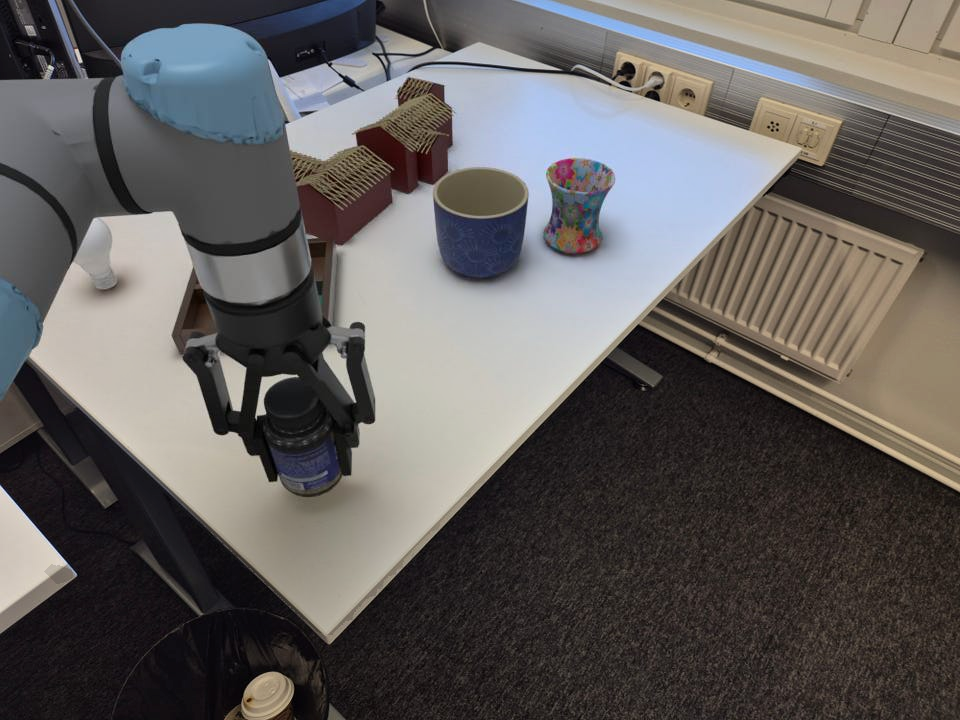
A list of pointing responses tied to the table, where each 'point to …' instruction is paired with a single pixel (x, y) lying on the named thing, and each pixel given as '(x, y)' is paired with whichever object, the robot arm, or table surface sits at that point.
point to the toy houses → (376, 164)
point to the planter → (480, 220)
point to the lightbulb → (97, 254)
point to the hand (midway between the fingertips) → (311, 466)
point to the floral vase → (577, 203)
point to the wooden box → (198, 315)
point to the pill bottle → (301, 438)
